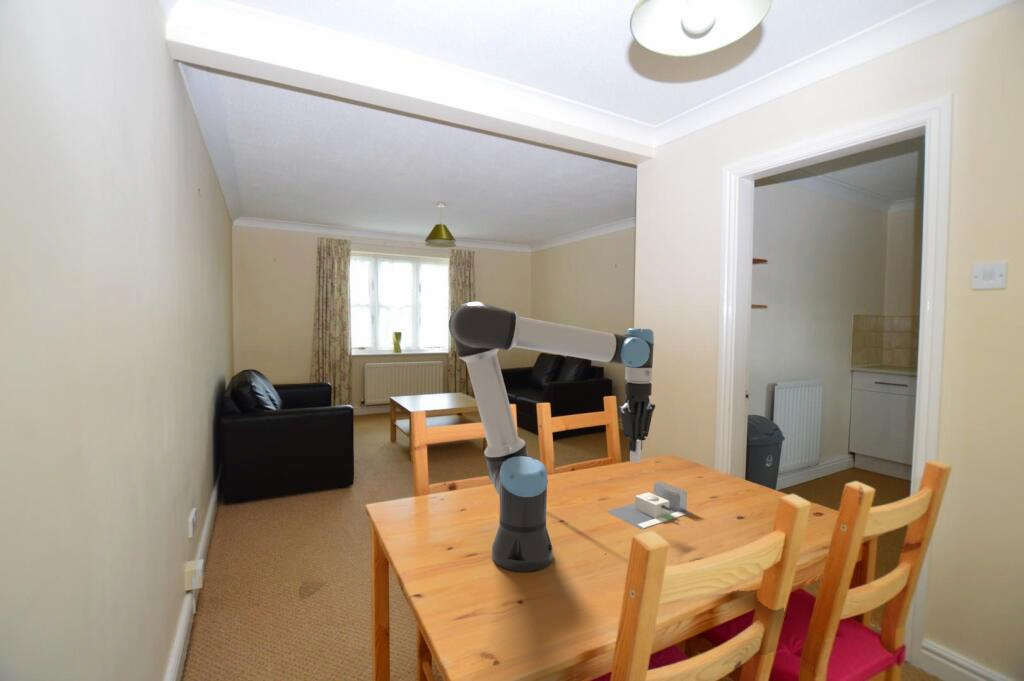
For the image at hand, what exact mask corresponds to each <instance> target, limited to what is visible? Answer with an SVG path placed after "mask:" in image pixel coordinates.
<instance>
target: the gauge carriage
mask: <svg viewBox="0 0 1024 681" xmlns="http://www.w3.org/2000/svg"><path fill="white" fill-rule="evenodd" d="M634 503H635V509H636V510H639V511H641V512H643V513H645V514H647V515H649V516H651V517H653V518H658V517H661V516H664V515H667V514H669V511H670V510H671V508H669V501H668V500H666V499H664V498H661V497H659V496H656V495H654V493H653V492H652V493H651V492H649V491H648V492H645V493H641V494H637V495H634Z"/></svg>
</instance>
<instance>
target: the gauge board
mask: <svg viewBox="0 0 1024 681" xmlns="http://www.w3.org/2000/svg"><path fill="white" fill-rule="evenodd" d="M606 513H608V514H610V515H612V516H615V518H618V519H621V520H622V521H624V522H626V523H628V524H629V525H632V526H633V527H635V528H637V529H639V530H645V529H648V528H652V527H654V526H657V525H659V524H660V525H661V524H664V523H666V522H670V521H672V520H676V519H678V518H681V517H685V516H687V515H690V514H693V512H691V511H689V510H686V511H684V512H677V511H674V510H672V509H671V510H670V511H669V514H667V515H664V516H661V517H658V518H653V517H651V516H649V515H647V514H645V513H643V512H641V511H639V510H636V509H635V502H634V503H630V504H627V505H624V506H623V505H622V506H620V507H616V508H612V509H609V510H606Z"/></svg>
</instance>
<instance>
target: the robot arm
mask: <svg viewBox="0 0 1024 681" xmlns="http://www.w3.org/2000/svg"><path fill="white" fill-rule="evenodd" d="M448 329H449V332H450V335H451V338H453V341H454V345H455V349H456V352H457V356H458V359H460V360H462V361H463V362H465V364H466V368H467V371H468V375H469V379H470V383H471V386H472V391H473V394H474V395H473V396H474V398H475V402H476V406H477V410H478V414H479V417H480V420H481V425H482V429H483V432H484V435H485V440H486V443H487V446H486V448H485V449H484V452H483V453H484V457H485V461H486V465H487V467H486V468H487V475H488V478H489V481H490V482H491V483H492V485H493V487H494V489H495V491H496V493H497V494H498V497H499V522H498V523H499V524H498V528H497V531H496V534H495V537H494V541H493V543H492V545H491V558H492V560H493V562H494V564H496V565H497V566H499V567H500V568H503V569H505V570H509V571H513V572H520V573H525V572H526V573H529V572H535V571H539V570H543V569H545V568H547V566H549V565H550V564H551V563H552V561H553V554H554V552H553V550H554V548H553V545H552V541H551V539H550V538H551V537H550V535H549V532H548V528H547V503H548V500H547V499H548V495H547V494H548V482H549V480H548V479H549V478H548V471H547V467H546V465H545V464H544V463H543V462H542V461H541V460H538V459H534V457H530V456H529V452H528V448H527V443H526V441H525V440H524V439H522V438H521V437H519V435H518V431H517V427H516V424H515V420H514V416H513V413H512V408H511V405H510V401H509V396H508V392H507V389H506V384H505V381H504V377H503V373H502V370H501V365H500V362H499V357H498V353H499V350H504V351H510V350H512V349H513V348H518V349H524V350H530V351H537V352H543V353H549V354H556V355H561V356H566V357H573V358H579V359H585V360H590V361H595V362H604V363H610V364H614V365H615V364H616V365H621V366H625V373H624V374H625V375H624V376H625V377H624V379H625V380H626V381H625V382H624V394H625V395H626V398H625V402H624V405H620V406H618V411H619V413H620V415H621V422H622V429H623V436H624V438H626V439H629V448H628V449H629V451H630V452H629V461H630V462H633V463H635V464H639V463H641V462H642V461H641V457H642V456H641V455H642V450H643V449H642V448H643V441H646V438H647V437H648V436H649V432H650V427H651V423H652V417H653V414H654V410H655V408H656V404H654V403H651V400H650V397H651V395H652V390H653V389H652V387H653V384H652V383H651V382H652V378H653V363H654V361H653V360H654V346H655V339H654V331H653V330H652V329H651V328H631V327H629V328H628V329H627V330H626V333H625V334H617V333H611V332H606V331H603V330H596V329H590V328H584V327H580V326H573V325H568V324H562V323H557V322H552V321H546V320H541V319H540V320H539V319H535V318H531V317H530V318H529V317H524V316H519V314H518V313H517V312H516V311H513V310H511V309H505V308H502V307H498V306H494V305H492V304H489V303H486V302H484V301H483V302H482V301H470V302H465V303H462V304H460V305H459V306H457V307H456V308H455V309H454V310H453V311H452V313H451V315H450V317H449V320H448Z"/></svg>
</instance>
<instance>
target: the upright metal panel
mask: <svg viewBox="0 0 1024 681" xmlns="http://www.w3.org/2000/svg"><path fill="white" fill-rule="evenodd" d="M653 494H654V495H656V496H659V497H661V498H664V499H666V500H668V501H669V508H671V509H672V510H674V511H677V512H684V511H686V510H687V505H688V504H687V503H688V491H687V490H685V489H682V488H680V487H677V486H676V485H675V486H674V485H672V484H670V483H666V482H663V481H656V482H653ZM687 511H688V510H687Z"/></svg>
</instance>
